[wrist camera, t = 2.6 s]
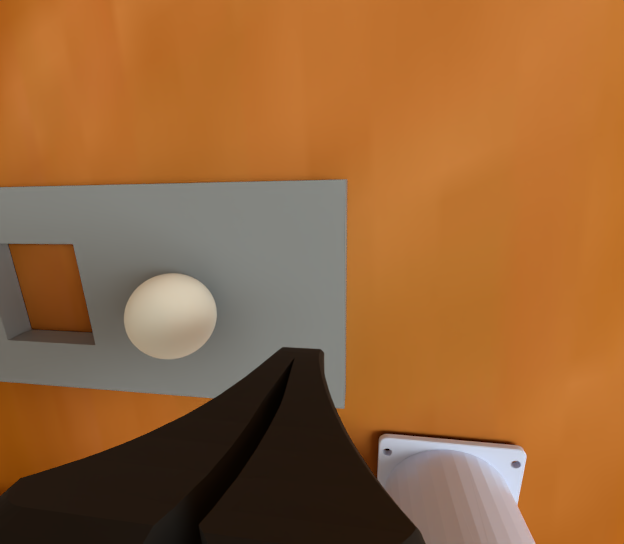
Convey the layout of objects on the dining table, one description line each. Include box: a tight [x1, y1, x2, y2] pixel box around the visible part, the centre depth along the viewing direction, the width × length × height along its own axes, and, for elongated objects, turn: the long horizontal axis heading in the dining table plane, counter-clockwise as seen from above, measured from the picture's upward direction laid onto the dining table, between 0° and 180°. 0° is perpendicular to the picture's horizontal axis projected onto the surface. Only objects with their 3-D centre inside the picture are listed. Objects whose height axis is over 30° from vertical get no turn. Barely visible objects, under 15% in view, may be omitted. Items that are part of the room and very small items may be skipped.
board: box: [0, 180, 347, 409], centre depth 19 cm, size 12×26×2 cm, turn 91°
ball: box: [124, 273, 217, 359], centre depth 15 cm, size 4×4×4 cm
